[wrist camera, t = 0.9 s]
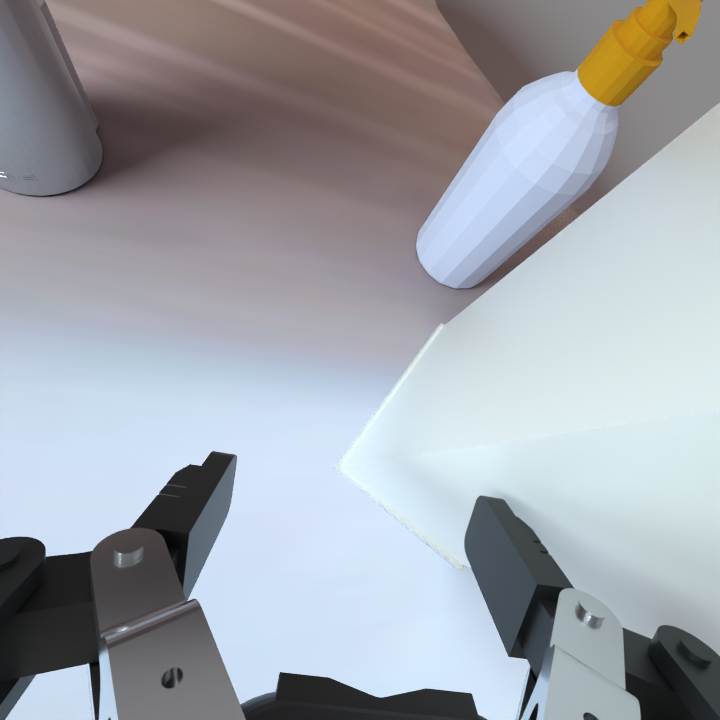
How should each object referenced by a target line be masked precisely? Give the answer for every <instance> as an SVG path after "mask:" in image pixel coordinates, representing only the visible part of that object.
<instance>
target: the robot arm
mask: <svg viewBox="0 0 720 720" xmlns="http://www.w3.org/2000/svg"><path fill="white" fill-rule="evenodd" d="M97 127H98V121H97V119H96V117H95V114H94V112H93V110H92V107H91V105H90V103H89V101H88V98H87V96H86V94H85V91H84V89H83V87H82V84H81V82H80V80H79V78H78V75H77V73H76V71H75V68H74V66H73V64H72V61H71V59H70V57H69V55H68V52H67V50H66V48H65V45H64V43H63V41H62V38H61V36H60V34H59V31H58V29H57V27H56V25H55V22H54V20H53V18H52V15H51V13H50V11H49V8H48V6H47V4H46V2H45V1H44V0H0V188H3V189H5V190H8V191H11V192H14V193H20V194H26V195H41V196H45V195H53V194H60V193H63V192H67V191H70V190H73V189H75V188H77V187H79V186H81V185H83V184H84V183H86V182H87V181H88V180H90V179H91V178H92V177H93V176H94V174H95V173H96V172H97V171H98V169H99V167H100V165H101V162H102V156H103V151H102V145H101V142H100V140H99V138H98V136H97V133H96V129H97ZM236 462H237V456H236V455H233V454H227V453H221V452H215V451H212V452H211V453H210V455H209V456H208V457H207V459H206V460H205V462H204V463H203V464H202V466H197V465H191V464H190V465H188V466H187V467H185V468H183V469H181V470H180V471H178V472H176V473H175V474H174V475H173V477H172V478H171V479H170V480H169V482H168V483H167V485H166V486H164V488H163V489H162V490H161V491H160V493H159V495H157V496H156V497H155V499H154V500H153V501H152V502H151V504H150V505H149V506H148V507H147V508H146V510H145V511H144V512H143V513H142V515H141V516H140V517H139V518H138V519H137V521H136V522H135V523H134V524H133V526H132V527H131V528H130V529H125V530H122V531H118V532H116V533H114V534H111V535H110V536H108V537H106V538H105V539H103V540H102V541H101V542H100V543H98V544H97V546H96V547H95V548H94V549H93V551H90V552H85V553H77V554H68V555H58V556H49V557H46V551H45V546H44V544H43V543H42V542H41V541H39V540H37V539H34V538H30V537H11V538H4V539H0V720H5V719H6V717H7V716H8V714H9V713H10V712H11V710H12V709H13V707H14V706H15V704H16V703H17V701H18V700H19V699H20V697H21V696H22V694H23V693H24V691H25V690H26V688H27V687H28V685H29V684H30V683H31V681H32V680H33V678H34V677H35V675H36V674H41V673H45V672H50V671H55V670H60V669H65V668H69V667H74V666H79V665H84V664H87V673H88V683H89V693H90V703H91V713H92V720H487V719H485V718H484V717H482V716H479V715H478V713H477V710H476V707H475V703H474V700H473V697H472V694H471V693H462V692H453V691H444V690H435V689H422V690H417V691H412V692H407V693H403V694H398V695H393V696H389V697H383V698H379V697H375V696H372V695H370V694H367V693H365V692H362V691H360V690H357V689H355V688H353V687H350V686H348V685H345V684H343V683H340V682H338V681H336V680H333V679H331V678H327V677H318V676H309V675H300V674H291V673H282V672H280V674H279V679H278V684H277V689H276V692H272V693H267V694H264V695H261V696H258V697H255V698H253V699H251V700H249V701H247V702H245V703H243V704H241V705H240V703H239V701H238V698H237V696H236V693H235V691H234V688H233V686H232V683H231V681H230V678H229V676H228V673H227V671H226V668H225V666H224V663H223V660H222V658H221V655H220V653H219V650H218V648H217V645H216V643H215V640H214V638H213V635H212V633H211V630H210V628H209V625H208V623H207V620H206V618H205V615H204V613H203V610H202V608H201V605H200V604H199V602H198V601H197V600H196V599H192V600H190V601H187V600H188V598H189V596H190V594H191V591H192V589H193V587H194V585H195V583H196V581H197V579H198V577H199V574H200V572H201V570H202V568H203V566H204V564H205V562H206V560H207V557H208V555H209V553H210V551H211V549H212V547H213V545H214V543H215V540H216V538H217V536H218V534H219V532H220V530H221V528H222V526H223V523H224V521H225V519H226V517H227V514H228V511H229V507H230V503H231V498H232V491H233V484H234V477H235V470H236ZM464 548H465V553H466V556H467V559H468V561H469V563H470V566H471V568H472V571H473V573H474V575H475V578H476V580H477V582H478V585H479V587H480V590H481V592H482V594H483V597H484V599H485V601H486V604H487V606H488V609H489V611H490V613H491V616H492V618H493V621H494V623H495V625H496V628H497V630H498V632H499V635H500V637H501V640H502V642H503V644H504V647H505V649H506V651H507V654H508V656H509V657H515V658H523V659H527V660H528V662H529V664H530V667H529V669H528V672H527V674H526V677H525V681H524V686H523V690H522V694H521V698H520V703H519V707H518V711H517V715H516V720H720V656H719V655H718V654H717V653H716V652H715V651H714V650H713V649H711V648H710V647H709V646H708V645H706V644H705V643H704V642H702V641H701V640H700V639H698V638H696V637H695V636H693V635H692V634H690V633H688V632H686V631H684V630H682V629H680V628H677V627H674V626H670V625H661V626H659V627H658V629H657V631H656V633H655V634H654V636H653V638H652V639H651V638H648V637H645V636H643V635H640V634H638V633H635V632H633V631H630V630H628V629H625V628H623V627H622V626H621V624H620V622H619V620H618V619H617V617H616V616H615V615H614V613H613V612H612V611H611V610H610V609H609V608H608V607H607V606H606V605H604V604H603V603H602V602H601V601H599V600H598V599H596V598H595V597H593V596H591V595H590V594H588V593H586V592H583V591H581V590H577V589H575V588H574V587H573V585H572V584H571V583H570V581H569V580H568V578H567V577H566V576H565V574H564V573H563V571H562V570H561V569H560V567H559V566H558V564H557V563H556V562H555V560H554V559H553V557H552V556H551V555H549V552H548V550H547V549H546V548H545V546H544V545H543V544H541V541H540V539H539V538H538V536H537V535H536V534H535V532H534V531H533V529H532V528H531V527H529V526H528V525H527V524H526V523H525V522H524V521H522V520H521V519H520V518H519V517H516V516H515V514H514V513H513V511H512V510H511V509H510V507H509V506H508V504H507V503H506V501H505V500H504V499H501V498H495V497H488V496H482V495H481V496H479V497H478V498H477V500H476V502H475V505H474V508H473V512H472V515H471V518H470V521H469V524H468V527H467V530H466V533H465V539H464Z"/></svg>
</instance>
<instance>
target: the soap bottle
mask: <svg viewBox="0 0 720 720" xmlns="http://www.w3.org/2000/svg"><path fill="white" fill-rule="evenodd" d="M701 2H702V0H649V1H648V2H647V3H646V4H645V5H644V7H636V8H635V9H634V10H633V12H632V13H631V14H630V15H629V16H628V18H627V19H626V20H616V21H615V22H614V23H613V25H612V26H611V27H610V28H609V30H608V31H607V32H606V33H605V35H604V36H603V37H602V38H601V40H600V41H599V42H598V44H597V45H596V46H595V47H594V49H593V50H592V51H591V52H590V54H589V55H588V56H587V58H586V59H585V60H584V61H583V63H582V64H581V65H580V66H579V67H578V69H577V70H576V71H575V72H569V71H565V72H561V73H557V74H554V75H551V76H547V77H544V78H542V79H539V80H537V81H535V82H532V83H530V84H528V85H526V86H523V88H521V89H520V90H519V91H518V92H517V93H516V94H515V95H514V96H513V97H512V98H511V99H510V100H509V101H508V102H507V103H506V104H505V106H504V107H503V108H502V109H501V110H500V111H499V112H498V113H497V115H496V116H495V118H494V119H493V121H492V122H491V124H490V125H489V127H488V128H487V130H486V131H485V133H484V134H483V136H482V137H481V139H480V140H479V142H478V143H477V145H476V146H475V148H474V149H473V151H472V152H471V154H470V155H469V157H468V158H467V160H466V161H465V163H464V164H463V166H462V167H461V169H460V170H459V172H458V173H457V175H456V176H455V178H454V179H453V181H452V182H451V184H450V185H449V187H448V188H447V190H446V191H445V193H444V195H443V196H442V198H441V199H440V201H439V202H438V204H437V205H436V207H435V208H434V210H433V211H432V213H431V214H430V216H429V217H428V219H427V220H426V222H425V223H424V225H423V226H422V228H421V229H420V231H419V232H418V237H417V242H416V249H417V254H418V258H419V261H420V263H421V264H422V266H423V267H424V269H425V270H426V272H427V273H428V274H429V275H430V276H431V277H433V278H434V279H435V280H436V281H438V282H439V283H440V284H443V285H446V286H449V287H451V288H454V289H457V288H471V287H473V286H475V285H477V284H478V283H480V282H482V281H483V280H484V279H485V278H486V277H488V276H489V275H490V274H491V273H492V272H493V271H495V270H496V269H497V268H498V267H499V266H500V265H501V264H503V263H504V262H505V261H506V260H507V259H508V258H509V257H511V256H512V255H513V254H514V253H515V252H516V251H517V250H519V249H520V248H521V247H522V246H523V245H524V244H526V243H527V242H528V241H529V240H530V239H531V238H532V237H534V236H535V235H536V234H537V233H538V232H539V231H540V230H542V229H543V228H544V227H545V226H546V225H547V224H549V223H550V222H551V221H552V220H553V219H554V218H555V217H557V216H558V215H559V214H560V213H561V212H562V211H563V210H565V209H566V208H567V207H568V206H569V205H570V204H572V203H573V202H574V201H575V200H576V199H577V198H578V197H580V196H581V195H582V194H583V193H584V192H585V191H586V190H588V189H589V187H590V186H591V185H592V184H593V182H594V181H595V180H596V178H597V177H598V176H599V174H600V173H601V172H602V170H603V169H604V167H605V166H606V164H607V162H608V160H609V158H610V156H611V153H612V149H613V146H614V142H615V139H616V134H617V128H618V113H617V108H618V107H619V106H620V105H621V104H622V103H623V102H624V101H625V100H626V99H627V98H628V97H629V96H630V95H631V94H632V93H633V92H634V91H635V90H636V89H637V88H638V87H639V86H640V85H641V84H642V82H644V81H645V80H646V79H647V77H648V76H649V75H650V74H651V73H652V72H653V71H654V70H655V69H656V68H657V67H658V66H659V65H660V64H661V62H662V60H663V59H662V51H663V50H664V49H665V48H666V47H667V46H668V45H669V44H670V43H671V41H672V39H673V38H674V39H675V40H677V41H679V42H680V43H681V44H683V43H684V42H685V41H686V40H687V39H688V38H689V37H691V36H692V35H693V32H694V29H695V27H696V24H697V21H698V18H699V15H700V12H701ZM674 30H675V33H674V37H673V36H672V32H673V31H674Z"/></svg>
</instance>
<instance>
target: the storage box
mask: <svg viewBox="0 0 720 720" xmlns="http://www.w3.org/2000/svg"><path fill="white" fill-rule="evenodd" d="M334 469H335V470H336V471H338V472H339V473H340V474H341V475H342V476H344V477H345V478H346V479H347V480H349V481H350V482H351V483H352V484H353V485H355V486H356V487H357V488H358V489H360V490H361V491H362V492H363V493H365V494H366V495H367V496H368V497H369V498H371V499H372V500H373V501H374V502H376V503H377V504H378V505H379V506H380V507H382V508H383V509H384V510H385V511H387V512H388V513H389V514H390V515H391V516H393V517H394V518H395V519H396V520H398V521H399V522H400V523H401V524H403V525H404V526H405V527H406V528H407V529H409V530H410V531H411V532H412V533H414V534H415V535H416V536H417V537H418V538H420V539H421V540H422V541H423V542H425V543H426V544H427V545H428V546H430V547H431V548H432V549H433V550H434V551H436V552H437V553H438V554H439V555H441V556H442V557H443V558H444V559H445V560H447V561H448V562H449V563H450V564H452V565H453V566H454V567H456V568H458V569H461V570H462V569H463V567H464V565H465V566H467V567H470V568H471V566H470V563H469V561H468V559H467V556H466V553H465V548H464V539H465V533H466V530H467V527H468V524H469V521H470V518H471V515H472V512H473V508H474V505H475V502H476V500H477V498H478V497H479V496H481V495H482V496H488V497H495V498H501V499H504V500H505V501H506V503H507V504H508V506H509V507H510V509H511V510H512V511H513V513H514V514H515V516H516V517H519V518H520V519H521V520H522V521H524V522H525V523H526V524H527V525H528V526H529V527H531V528H532V529H533V531H534V532H535V534H536V535H537V536H538V538H539V539H540V541H541V544H543V545H544V546H545V548H546V549H547V550H548V552H549V555H551V556H552V557H553V559H554V560H555V562H556V563H557V564H558V566H559V567H560V569H561V570H562V571H563V573H564V574H565V576H566V577H567V578H568V580H569V581H570V583H571V584H572V585H573V587H574V588H575V589H577V590H581V591H583V592H586V593H588V594H590V595H591V596H593V597H595V598H596V599H598V600H599V601H601V602H602V603H603V604H604V605H606V606H607V607H608V608H609V609H610V610H611V611H612V612H613V613H614V615H615V616H616V617H617V619H618V620H619V622H620V624H621V626H622V627H623V628H625V629H628V630H630V631H633V632H635V633H638V634H640V635H643V636H645V637H648V638H651V639H652V638H653V636H654V634H655V633H656V631H657V629H658V627H659V626H661V625H670V626H674V627H677V628H680V629H682V630H684V631H686V632H688V633H690V634H692V635H693V636H695V637H696V638H698V639H700V640H701V641H702V642H704V643H705V644H706V645H708V646H709V647H710V648H711V649H713V650H714V651H715V652H716V653H717V654H718V655H719V656H720V103H719V104H717V105H716V106H715V107H714V108H712V109H711V110H710V111H709V112H707V113H706V114H705V115H704V116H702V117H701V118H700V119H699V120H698V121H697V122H695V123H694V124H693V125H691V126H690V127H689V128H688V129H687V130H685V131H684V132H683V133H681V134H680V135H679V136H678V137H677V138H675V139H674V140H673V141H672V142H670V143H669V144H668V145H667V146H666V147H664V148H663V149H662V150H661V151H659V152H658V153H657V154H656V155H654V156H653V157H652V158H651V159H650V160H648V161H647V162H646V163H645V164H643V165H642V166H641V167H640V168H638V169H637V170H636V171H635V172H633V173H632V174H631V175H630V176H628V177H627V178H626V179H625V180H623V181H622V182H621V183H620V184H619V185H617V186H616V187H615V188H614V189H612V190H611V191H610V192H609V193H608V194H606V195H605V196H604V197H603V198H601V199H600V200H599V201H598V202H596V203H595V204H594V205H593V206H591V207H590V208H589V209H588V210H586V211H585V212H584V213H583V214H581V215H580V216H579V217H578V218H577V219H575V220H574V221H573V222H572V223H570V224H569V225H568V226H567V227H565V228H564V229H563V230H562V231H560V232H559V233H558V234H557V235H556V236H554V237H553V238H552V239H551V240H549V241H548V242H547V243H546V244H544V245H543V246H542V247H541V248H540V249H538V250H537V251H536V252H535V253H533V254H532V255H531V256H530V257H528V258H527V259H526V260H525V261H523V262H522V263H521V264H520V265H519V266H517V267H516V268H515V269H514V270H512V271H511V272H510V273H509V274H507V275H506V276H505V277H504V278H502V279H501V280H500V281H499V282H498V283H496V284H495V285H494V286H493V287H491V288H490V289H489V290H488V291H486V292H485V293H484V294H483V295H481V296H480V297H479V298H478V299H477V300H475V301H474V302H473V303H472V304H470V305H469V306H468V307H467V308H465V309H464V310H463V311H462V312H460V313H459V314H458V315H457V316H456V317H454V318H453V319H452V320H451V321H449V322H448V323H447V324H446V325H444V324H442V323H441V324H440V325H439V326H437V327H436V328H435V330H434V331H433V332H432V334H431V335H430V336H429V338H428V339H427V341H426V342H425V343H424V345H423V346H422V347H421V349H420V350H419V352H418V353H417V354H416V356H415V357H414V358H413V360H412V361H411V362H410V364H409V365H408V367H407V368H406V369H405V371H404V372H403V373H402V375H401V376H400V378H399V379H398V380H397V382H396V383H395V384H394V386H393V387H392V388H391V390H390V391H389V393H388V394H387V395H386V397H385V398H384V399H383V401H382V402H381V404H380V405H379V406H378V408H377V409H376V410H375V412H374V413H373V414H372V416H371V417H370V419H369V420H368V421H367V423H366V424H365V425H364V427H363V428H362V430H361V431H360V432H359V434H358V435H357V436H356V438H355V439H354V440H353V442H352V443H351V445H350V446H349V447H348V449H347V450H346V451H345V453H344V454H343V456H342V457H341V458H340V460H339V461H338V462H337V464H336V465H335V466H334Z"/></svg>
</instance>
